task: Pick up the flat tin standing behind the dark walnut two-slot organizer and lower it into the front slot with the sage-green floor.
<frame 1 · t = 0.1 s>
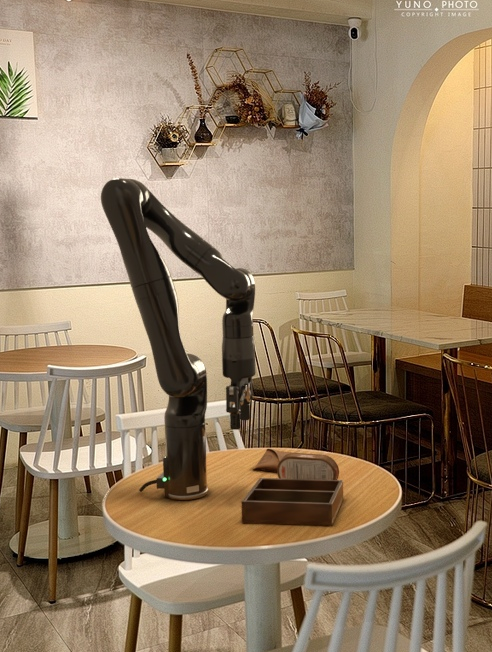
hand: (240, 424, 203), 17 cm above the table, tool pointing down, fingers open, 8 cm apart
organizer: (294, 511, 195), on the table
sunglasses case: (289, 470, 225), on the table
tin: (307, 489, 210), on the table
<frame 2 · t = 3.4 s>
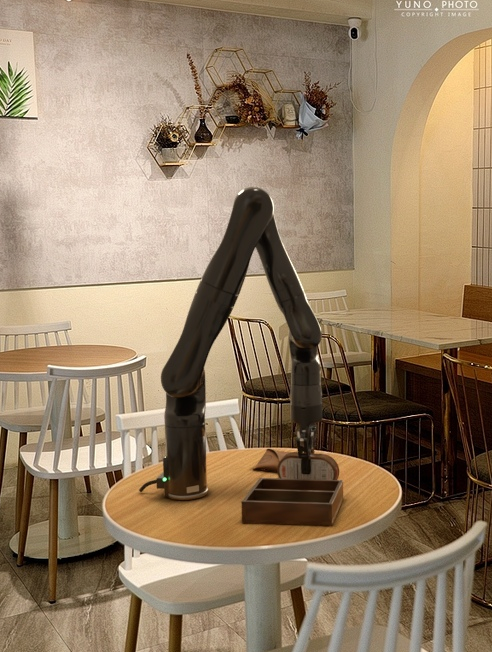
hand: (307, 471, 210), 4 cm above the table, tool pointing down, fingers closed on tin, 3 cm apart
tin: (307, 488, 210), on the table, touching gripper
everything else where it was.
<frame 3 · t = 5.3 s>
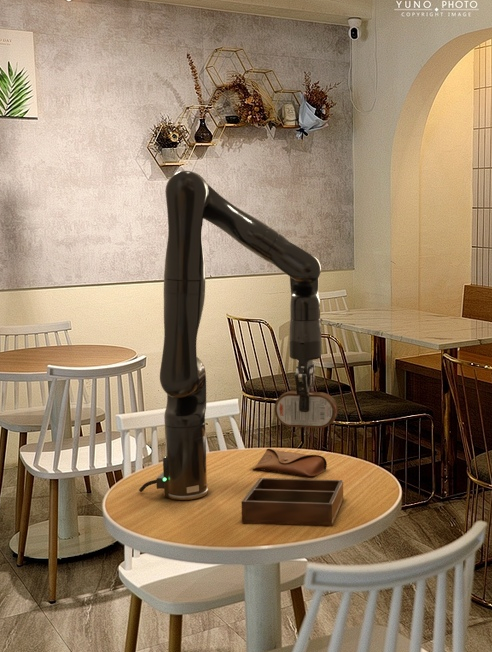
hand: (305, 409, 208), 19 cm above the table, tool pointing down, fingers closed on tin, 3 cm apart
tin: (305, 427, 208), point 15 cm above the table, touching gripper
everything else where it was.
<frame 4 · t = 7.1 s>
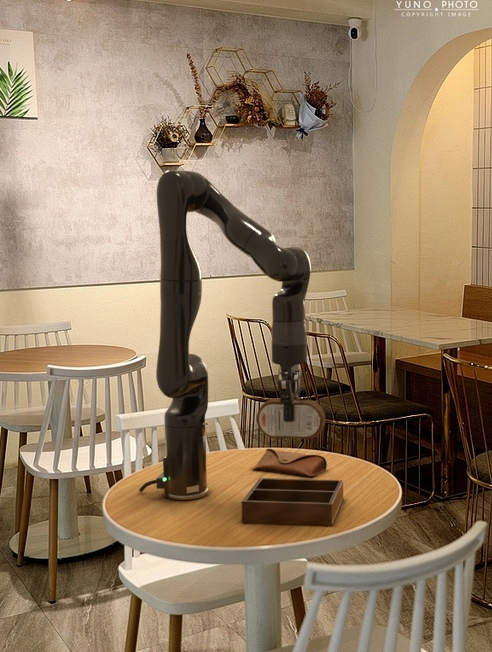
hand: (290, 419, 190), 22 cm above the table, tool pointing down, fingers closed on tin, 2 cm apart
tin: (290, 439, 190), point 17 cm above the table, touching gripper
everything else where it was.
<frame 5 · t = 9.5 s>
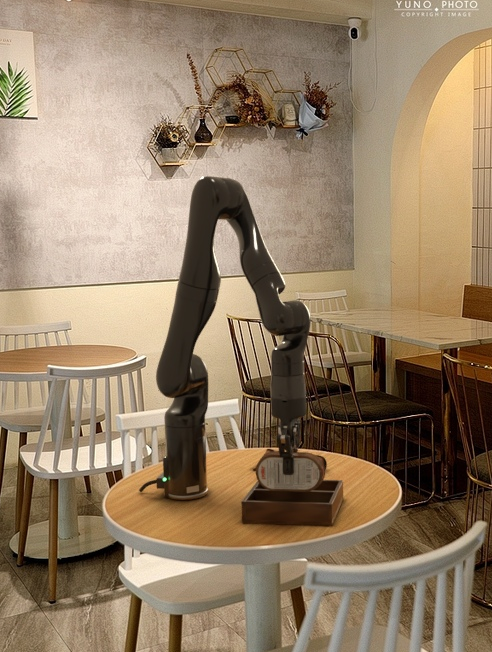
hand: (290, 471, 189), 10 cm above the table, tool pointing down, fingers closed on tin, 2 cm apart
tin: (290, 491, 190), point 6 cm above the table, touching gripper
everything else where it was.
when the fingers open (5 cm above the table, at t = 11.0 s): tin stays where it is, resting on organizer.
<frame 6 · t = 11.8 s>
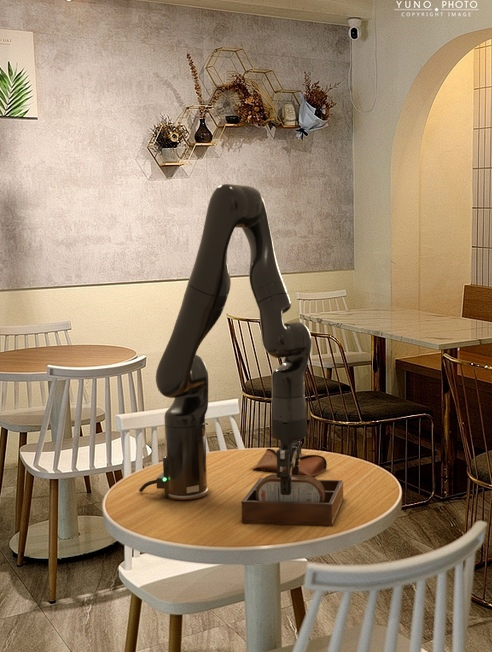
hand: (290, 488, 190), 7 cm above the table, tool pointing down, fingers open, 8 cm apart
tin: (290, 514, 190), point 1 cm above the table, touching organizer
everything else where it was.
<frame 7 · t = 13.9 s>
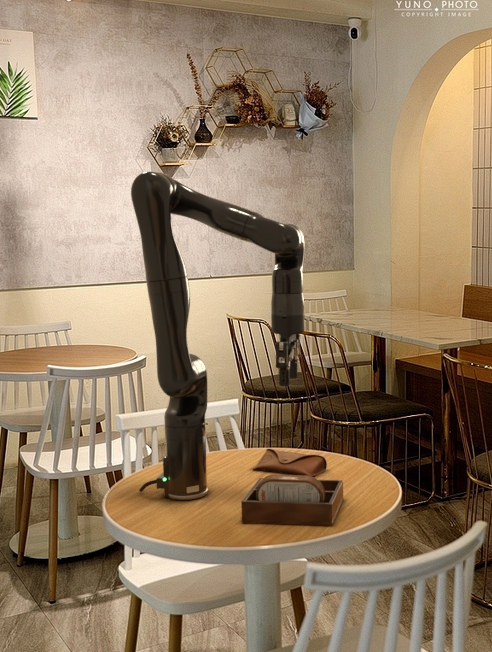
hand: (288, 381, 201), 27 cm above the table, tool pointing down, fingers open, 8 cm apart
nothing on the table moved.
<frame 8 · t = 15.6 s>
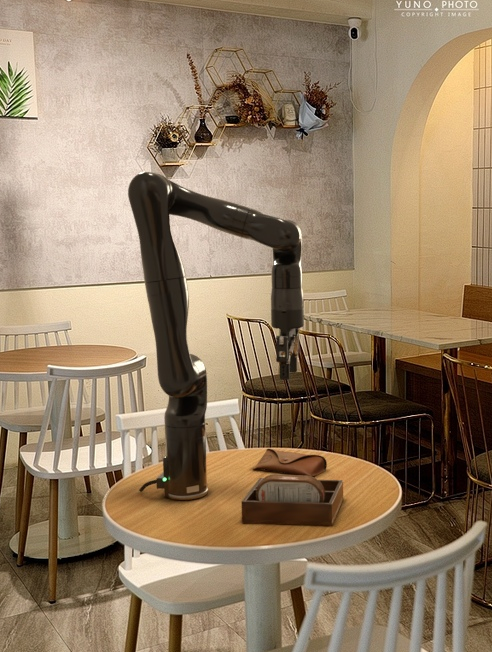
hand: (288, 375, 204), 28 cm above the table, tool pointing down, fingers open, 8 cm apart
nothing on the table moved.
at the end: tin inside the target area on the organizer (0.2 cm from its centre), point 0.8 cm above the organizer's base; the gripper is holding nothing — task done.
